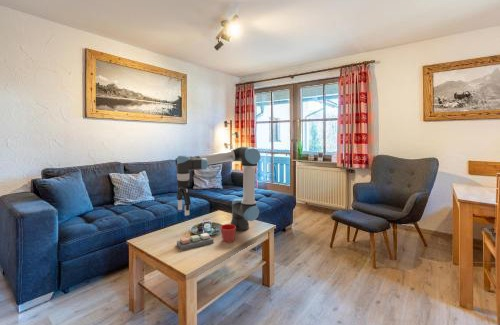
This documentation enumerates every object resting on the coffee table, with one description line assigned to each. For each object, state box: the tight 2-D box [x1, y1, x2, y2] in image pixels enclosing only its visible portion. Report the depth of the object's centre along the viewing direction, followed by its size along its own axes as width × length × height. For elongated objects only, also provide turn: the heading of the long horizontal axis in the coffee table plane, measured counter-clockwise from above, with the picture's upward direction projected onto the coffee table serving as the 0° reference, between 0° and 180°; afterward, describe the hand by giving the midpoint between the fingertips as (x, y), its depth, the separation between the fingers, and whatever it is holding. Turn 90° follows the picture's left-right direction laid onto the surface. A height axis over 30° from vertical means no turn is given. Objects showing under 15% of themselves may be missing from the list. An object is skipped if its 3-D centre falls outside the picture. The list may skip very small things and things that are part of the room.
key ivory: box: [199, 232, 211, 240], centre depth 177 cm, size 5×5×2 cm
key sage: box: [190, 234, 200, 242], centre depth 173 cm, size 5×5×2 cm
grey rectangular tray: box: [176, 235, 214, 251], centre depth 173 cm, size 22×10×3 cm, turn 122°
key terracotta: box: [180, 236, 190, 244], centre depth 169 cm, size 5×5×2 cm
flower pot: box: [220, 223, 236, 243], centre depth 180 cm, size 11×11×10 cm
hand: (183, 212), depth 165 cm, fingers open, 13 cm apart
